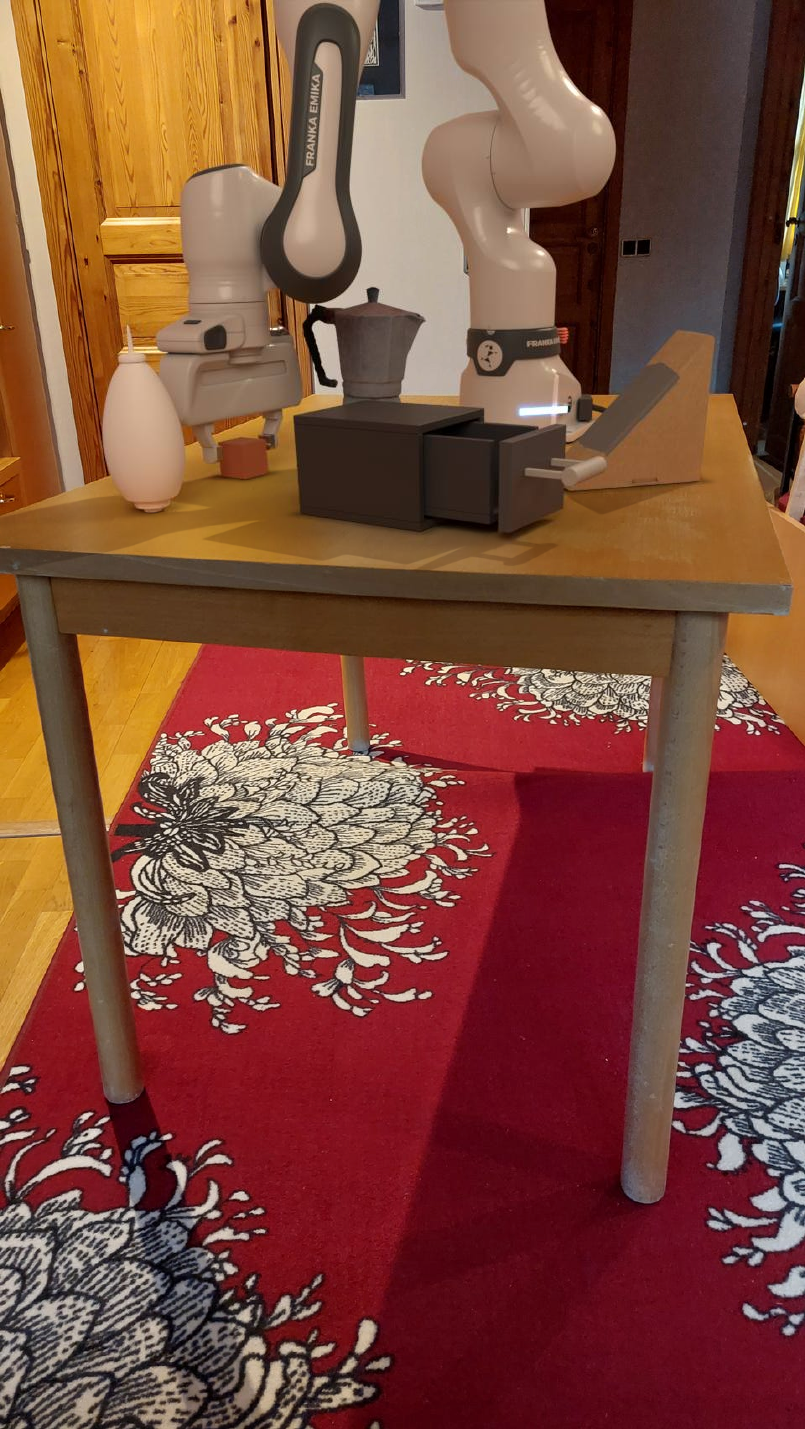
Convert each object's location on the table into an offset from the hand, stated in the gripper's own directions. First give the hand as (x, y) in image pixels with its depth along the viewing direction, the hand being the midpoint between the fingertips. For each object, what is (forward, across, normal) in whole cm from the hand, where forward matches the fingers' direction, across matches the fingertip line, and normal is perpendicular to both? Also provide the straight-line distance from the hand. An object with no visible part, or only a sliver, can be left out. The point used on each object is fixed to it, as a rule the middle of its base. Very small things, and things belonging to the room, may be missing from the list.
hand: (242, 455), depth 116 cm
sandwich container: (+2, -18, +40) cm, 44 cm away
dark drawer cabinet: (+2, +6, +26) cm, 26 cm away
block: (+2, 0, 0) cm, 2 cm away
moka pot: (+2, -14, +8) cm, 17 cm away
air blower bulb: (+3, +18, +4) cm, 18 cm away
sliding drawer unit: (+1, +6, +38) cm, 38 cm away
